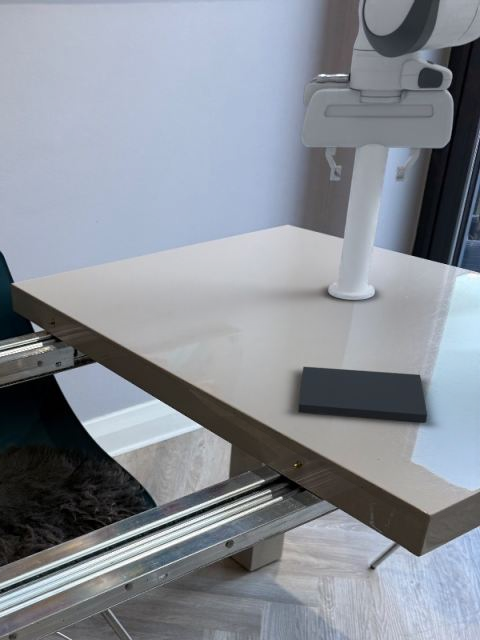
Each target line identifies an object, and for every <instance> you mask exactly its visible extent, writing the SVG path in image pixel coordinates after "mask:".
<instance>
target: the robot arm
mask: <svg viewBox="0 0 480 640" xmlns="http://www.w3.org/2000/svg"><path fill="white" fill-rule="evenodd" d="M358 21H359V25H358V26H359V27H358V33H357V36H356V38H355V41H354V44H353V48H352V49H353V50H352V57H351V65H350V72H348V73H347V72H345V73H341V72H340V73H332V74H327V73H318V74H316V76H315V77H312V78H310V79H308V81H307V82H306V84H305V85H304V88H303V96H302V102H303V106H304V108H305V109H306V112H305V116H304V121H303V125H302V131H301V142H302V144H303V145H304V147H306V148H325V153H324V154H325V155H324V156H325V158H326V160H327V163H328V164H329V167H330V174H329V175H330V176H329V181H341V176H342V169H343V165H337V164H336V162H335V160H334V157H333V156H335V155H336V150H337V148H356V147H363V146H365V145H368V144H379V145H382V146H384V147H385V148H389V149H408V150H407V154H408V156H409V157H408V159H407V160H406V162H405V163H404V164H403V165H402V166H396V171H395V172H396V174H395V176H394V177H395V178H394V181H395V182H402V183H403V182H404V183H405V182H407V179H408V174H409V170H410V169H411V168H412V167H413V165H414V164H415V163H416V162H417V160H418V158H419V157H420V152H421V149H443V148H444V147H445V146H447V144H448V143H450V141H451V136H452V130H453V124H454V123H453V122H454V99H453V96H452V94H451V93H450V91H449V90H448V89H449V88H450V86H451V84H452V80H453V73H452V71H451V69H449V68H447V67H445V66H443V65H440V64H438V63H435V62H434V61H432V60H428V59H427V60H425V59H422V57H421V56H422V52H423V51H433V50H441V49H444V48H451V47H452V48H453V47H459V46H462V45H466V44H468V43H472V42H474V41H476V40H478V39H479V38H480V0H359V3H358ZM314 81H315V82H314Z"/></svg>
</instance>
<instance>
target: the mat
mask: <svg viewBox="0 0 480 640" xmlns="http://www.w3.org/2000/svg"><path fill="white" fill-rule="evenodd" d="M300 384H301V385H300V392H299V401H298V409H297V411H298V413H308V414H309V413H310V414H320V415H332V416H333V415H334V416H342V417H343V416H344V417H357V418H367V419H379V420H391V421H402V422H403V421H405V422H415V423H416V422H417V423H426V422H427V419H428V418H427V417H428V412H427V407H426V406H427V405H426V400H425V395H424V389H423V384H422V377H421V374H418V373H417V374H416V373H401V372H389V371H373V370H359V369H345V368H331V367H316V366H303V367H302V376H301V383H300Z"/></svg>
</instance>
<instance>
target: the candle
mask: <svg viewBox="0 0 480 640" xmlns="http://www.w3.org/2000/svg"><path fill="white" fill-rule="evenodd" d="M389 151H390V148H385V147H384V146H382V145H379V144H368V145H365V146H363V147H355V153H354V162H353V168H352V177H351V182H350V191H349V197H348V205H347V212H346V219H345V226H344V234H343V241H342V248H341V256H340V263H339V271H338V277H337V282H333V283H331V284H330V285H329V286H328V289H327V290H328V291H327V292H328V293H329V295H331V296H332V297H334V298H337V299H341V300H349V301H360V300H366V299H370V298H372V297H374V295H375V293H376V288H375V287H374V286H373V285H371V284H369V276H370V270H371V264H372V257H373V251H374V245H375V239H376V233H377V226H378V220H379V214H380V208H381V201H382V195H383V188H384V184H385V183H384V181H385V175H386V171H387V162H388V156H389Z"/></svg>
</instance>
